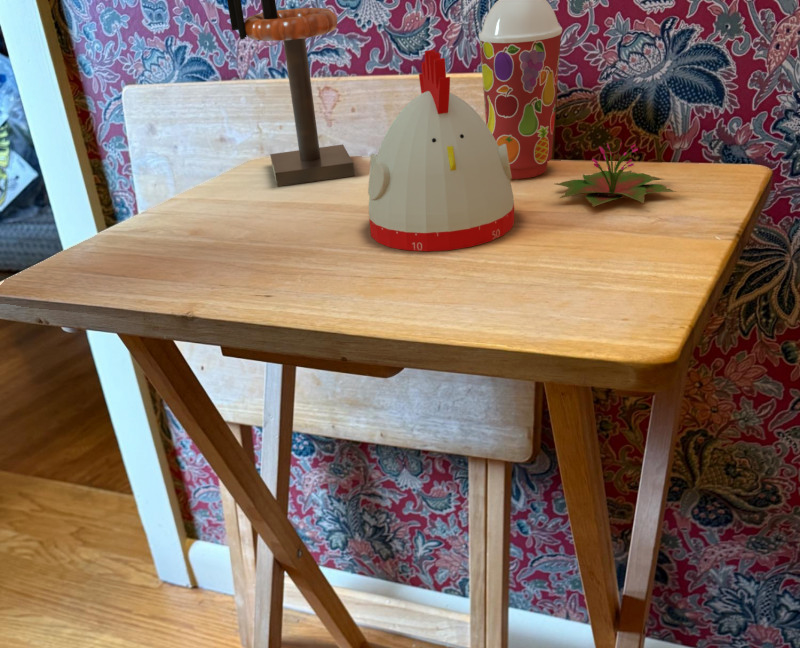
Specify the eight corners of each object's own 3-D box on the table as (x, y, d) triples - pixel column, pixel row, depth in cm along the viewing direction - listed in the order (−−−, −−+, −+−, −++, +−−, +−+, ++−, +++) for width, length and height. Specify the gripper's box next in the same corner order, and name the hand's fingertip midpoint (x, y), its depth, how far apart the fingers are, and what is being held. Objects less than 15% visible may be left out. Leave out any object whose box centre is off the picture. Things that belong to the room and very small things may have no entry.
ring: (248, 45, 92) (245, 23, 91) (243, 33, 100) (240, 13, 99) (343, 35, 93) (341, 13, 92) (331, 24, 101) (329, 4, 100)
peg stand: (277, 186, 102) (254, 43, 93) (272, 166, 109) (250, 32, 100) (354, 176, 102) (339, 33, 94) (344, 157, 110) (329, 23, 101)
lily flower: (532, 189, 93) (532, 142, 90) (636, 170, 95) (639, 124, 92) (585, 221, 83) (587, 170, 81) (698, 199, 86) (704, 149, 83)
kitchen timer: (384, 260, 80) (367, 75, 71) (359, 215, 90) (341, 50, 82) (533, 236, 81) (534, 52, 72) (490, 195, 92) (487, 31, 83)
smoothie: (538, 157, 102) (540, -50, 90) (572, 174, 96) (579, -46, 84) (470, 169, 100) (463, -40, 88) (500, 188, 94) (497, -35, 82)
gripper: (301, -187, 89) (325, 23, 100) (140, -171, 88) (182, 40, 99) (308, -192, 83) (333, 31, 94) (135, -175, 82) (181, 49, 93)
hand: (256, 34), depth 96 cm, fingers closed on ring, 2 cm apart
